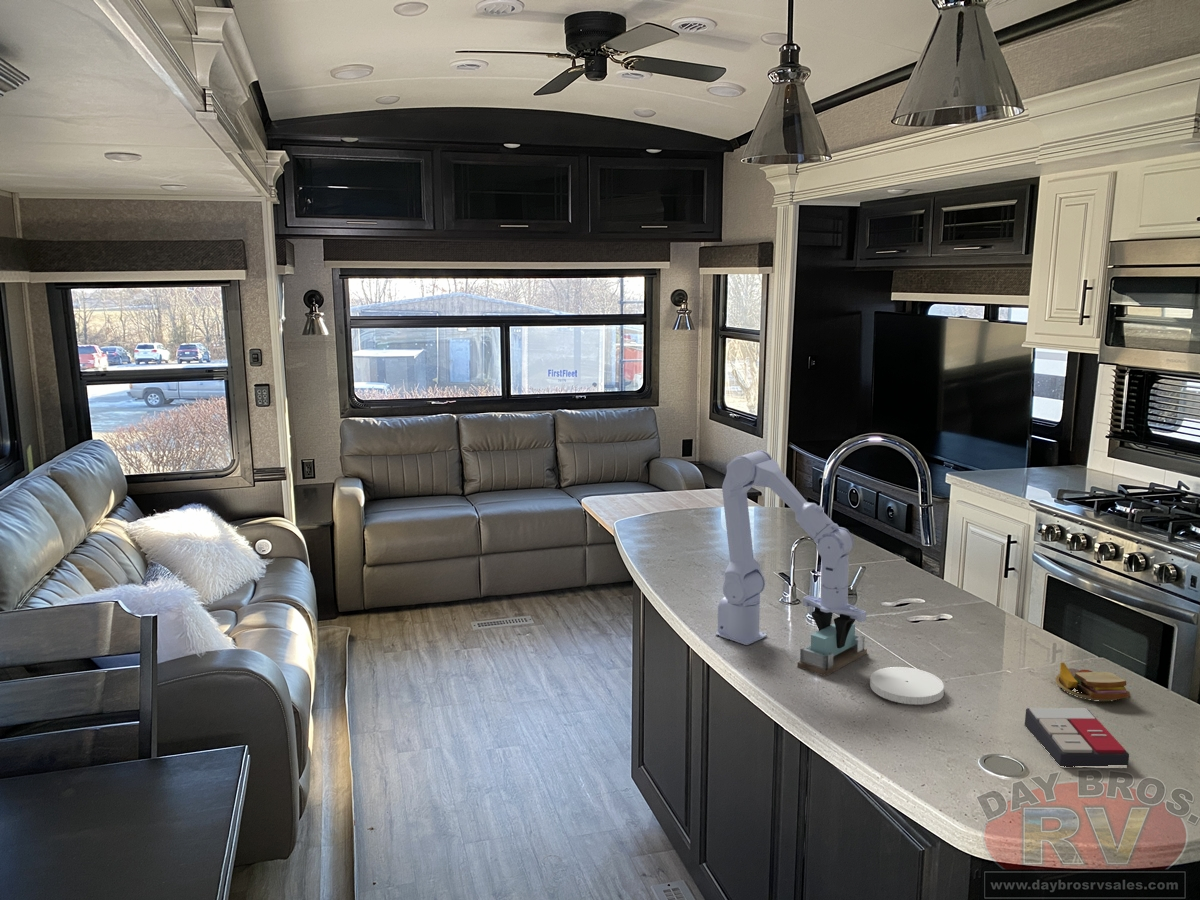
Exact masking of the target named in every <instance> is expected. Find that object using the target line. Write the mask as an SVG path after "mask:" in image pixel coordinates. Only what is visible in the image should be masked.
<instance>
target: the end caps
mask: <svg viewBox="0 0 1200 900" xmlns="http://www.w3.org/2000/svg"><path fill="white" fill-rule="evenodd" d="M865 640H866V639H865V636H863V635H860V634H856V633H855V643H854V646H852V648H854V652H855V653H859V652H861V651H863V650H864V648H865ZM799 652H800V654H799V661H800V662H802V663H805V664H808V665H811V666H814V667H817V668H820V669H823V670H828V669H830V668H831V667H833V655H834V653H831V652H830V653H828V654H826V655H824V654H821V653H818V652H814V651H811V644H810V645H809V644H807V645H805V646H803V647H801V648H800V650H799Z"/></svg>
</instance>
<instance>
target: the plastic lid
mask: <svg viewBox="0 0 1200 900" xmlns="http://www.w3.org/2000/svg"><path fill="white" fill-rule="evenodd" d="M869 686H870V689H871V690H872V692H874V693H875V694H876V695H878V696H880V698H883V699H885V700H888V701H891V702H895V703H899V704H900V703H901V704H904V705H919V706H920V705H929V704H932V703H936V702H938V701H940V700H941V699H942V698H944V694H945V684H944V682H943V681H942V679H941V678H939V677H938V676H937V675H935V674H933V673H931V672H929V671H925V670H922V669H918V668H914V667H913V668H912V667H906V666H904V667H903V666H892V667H890V666H889V667H884V668H882V667H881V668H880V669H876V670H875V671H874V672H872V673H871V674H870V678H869Z"/></svg>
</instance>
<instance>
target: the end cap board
mask: <svg viewBox="0 0 1200 900" xmlns="http://www.w3.org/2000/svg"><path fill="white" fill-rule="evenodd" d="M867 653H868V648H865V647H864V650H863V651H861V652H859V653H855V652H854V648H852V647H850V648H848V649H846V650H845V651H843V652H841V653H839V654H837V655H835V656H833V667H831V668H830V669H828V670H823V669H820V668H817V667H814V666H811V665H808V664H805V663H802V662H800V660H799V661H797V664H796V666H797V667H798V668H801V669H803V670H806V671H809V672H812V673H815V674H818V675H821V676H824V677H826V676H829V675H830V674H833V673H834V672H836V671H838V670H840V669H841V668H843V667H845V666H847V665H849V664H850V663H853V662H854V661H856V660H858V659H859V658H861V657H863V656H865V655H866V654H867Z"/></svg>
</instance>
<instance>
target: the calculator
mask: <svg viewBox="0 0 1200 900" xmlns="http://www.w3.org/2000/svg"><path fill="white" fill-rule="evenodd" d="M1024 717H1025V718H1024V727H1025V728H1026V727H1027V728H1026V729H1027V731H1029V733H1032V734H1033V735H1034V736H1033V735H1032V734H1031V735H1032V736H1033V737H1035V739H1036V740H1037V739H1038V740H1037V741H1038V742H1039V743H1040V745H1041V744H1042V745H1043V746H1044V747H1045V749H1046V750H1047V751H1048V752H1049V753H1050V755H1051V756H1052V757H1053V758H1054V759H1055V761H1056V762H1057V763H1058V764H1059V765H1060V766H1064V767H1065V766H1066V767H1073V766H1074V767H1075V766H1108V765H1128V766H1129V761H1130V760H1129V758H1130V753H1129V752H1128V751H1127V750H1126V749H1125V748H1124V747H1123V746H1122V743H1120V742H1119V741H1118V740H1117V739H1116V737H1114V736H1113V735H1112V734H1111V732H1110V731H1109V730H1108V729H1107V728H1106V727H1105V726H1104V725H1103V724H1102V723H1101V722H1100V720H1098V718H1096V716H1094V714H1093V713H1092V712H1091V711H1090V710H1089V709H1087V707H1029V708H1028V707H1027V708H1026V709H1025V716H1024ZM1042 745H1041V746H1042ZM1043 746H1042V747H1043ZM1044 747H1043V748H1044ZM1045 749H1044V750H1045ZM1046 750H1045V751H1046ZM1047 751H1046V752H1047ZM1048 752H1047V753H1048ZM1050 755H1049V756H1050ZM1051 756H1050V757H1051ZM1052 757H1051V758H1052ZM1053 758H1052V759H1053ZM1055 761H1054V762H1055ZM1056 762H1055V763H1056ZM1057 763H1056V764H1057ZM1058 764H1057V765H1058Z"/></svg>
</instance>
